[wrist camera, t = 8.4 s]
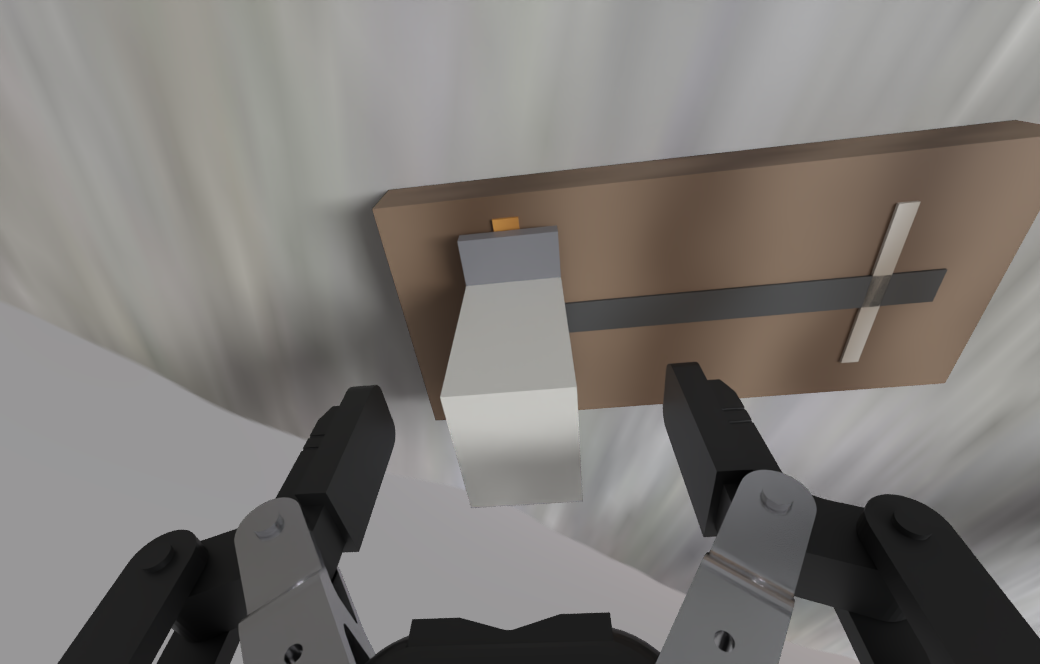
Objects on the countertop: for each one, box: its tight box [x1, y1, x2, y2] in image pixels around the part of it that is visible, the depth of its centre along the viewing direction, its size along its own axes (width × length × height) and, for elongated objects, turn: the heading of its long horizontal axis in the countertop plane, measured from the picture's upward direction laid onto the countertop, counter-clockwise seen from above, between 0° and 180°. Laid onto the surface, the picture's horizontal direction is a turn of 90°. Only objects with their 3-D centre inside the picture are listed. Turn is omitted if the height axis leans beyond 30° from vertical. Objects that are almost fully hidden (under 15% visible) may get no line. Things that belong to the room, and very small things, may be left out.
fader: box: [440, 225, 583, 508], centre depth 13 cm, size 3×7×6 cm, turn 6°
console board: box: [372, 120, 1040, 420], centre depth 16 cm, size 20×9×2 cm, turn 96°
